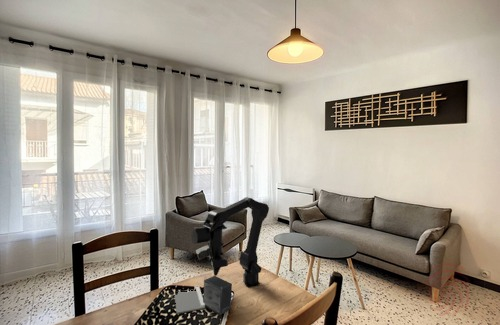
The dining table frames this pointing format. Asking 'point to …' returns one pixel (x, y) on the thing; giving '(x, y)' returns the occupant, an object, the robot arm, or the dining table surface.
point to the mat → (189, 301)
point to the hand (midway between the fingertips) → (215, 275)
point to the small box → (217, 295)
